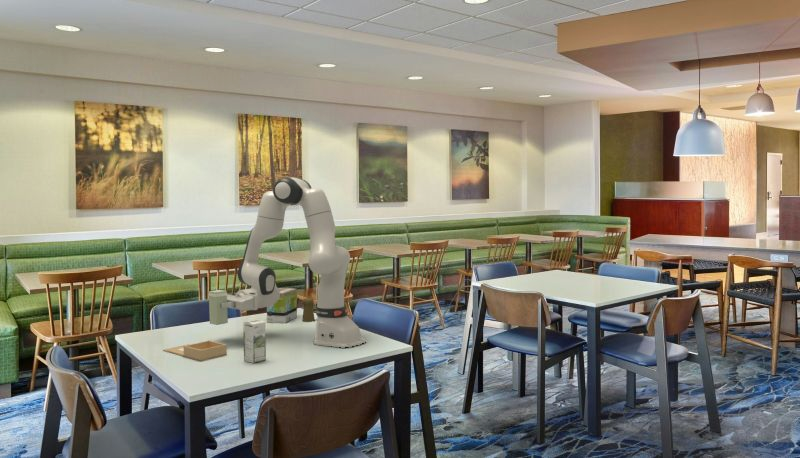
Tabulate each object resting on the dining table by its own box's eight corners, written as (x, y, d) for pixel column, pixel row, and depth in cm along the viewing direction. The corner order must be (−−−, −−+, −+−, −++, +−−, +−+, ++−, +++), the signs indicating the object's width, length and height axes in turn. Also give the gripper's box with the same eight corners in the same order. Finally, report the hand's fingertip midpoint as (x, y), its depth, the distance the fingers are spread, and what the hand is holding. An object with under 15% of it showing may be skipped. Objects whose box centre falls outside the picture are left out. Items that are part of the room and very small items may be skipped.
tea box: (286, 323, 292) (285, 292, 291) (266, 322, 294) (265, 292, 293) (297, 317, 306) (297, 287, 306) (278, 316, 308) (278, 287, 308)
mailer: (226, 354, 234) (226, 344, 234) (200, 361, 226) (200, 350, 226) (188, 345, 251) (188, 335, 251) (163, 350, 242) (162, 340, 242)
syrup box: (256, 357, 230) (255, 319, 229) (266, 360, 226) (265, 321, 225) (243, 361, 226) (242, 321, 225) (253, 363, 222) (252, 323, 221)
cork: (302, 322, 293) (302, 299, 293) (301, 320, 299) (301, 297, 299) (315, 321, 295) (315, 298, 294) (313, 319, 301) (313, 296, 300)
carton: (228, 322, 248) (226, 290, 247) (217, 325, 244) (215, 292, 243) (220, 321, 251) (219, 289, 251) (209, 323, 247) (208, 291, 247)
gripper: (229, 290, 264) (201, 294, 253) (259, 294, 251) (231, 299, 240) (230, 305, 264) (201, 310, 253) (260, 310, 251) (231, 315, 240)
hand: (216, 304), depth 247 cm, fingers closed on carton, 5 cm apart
